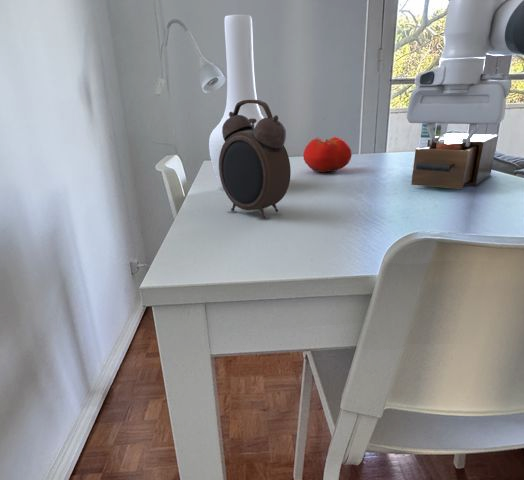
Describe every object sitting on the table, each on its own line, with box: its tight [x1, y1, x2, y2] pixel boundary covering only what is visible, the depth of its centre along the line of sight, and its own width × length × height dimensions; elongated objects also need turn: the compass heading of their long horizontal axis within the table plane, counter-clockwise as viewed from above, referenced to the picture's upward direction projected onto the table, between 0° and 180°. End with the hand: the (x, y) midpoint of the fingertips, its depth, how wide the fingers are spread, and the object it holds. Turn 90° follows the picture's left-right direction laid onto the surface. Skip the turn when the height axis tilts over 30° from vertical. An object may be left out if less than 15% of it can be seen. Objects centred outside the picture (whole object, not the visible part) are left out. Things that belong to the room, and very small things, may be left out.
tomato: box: [302, 136, 353, 173], centre depth 131 cm, size 14×13×9 cm
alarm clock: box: [219, 99, 292, 220], centre depth 88 cm, size 15×7×20 cm, turn 46°
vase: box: [208, 14, 265, 188], centre depth 108 cm, size 17×17×35 cm
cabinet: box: [427, 133, 499, 187], centre depth 116 cm, size 15×13×10 cm
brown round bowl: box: [436, 141, 462, 150], centre depth 106 cm, size 6×6×2 cm
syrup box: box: [418, 123, 449, 148], centre depth 134 cm, size 6×6×14 cm
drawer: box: [410, 145, 479, 190], centre depth 107 cm, size 18×11×8 cm, turn 145°
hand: (449, 145), depth 106 cm, fingers closed on brown round bowl, 6 cm apart
